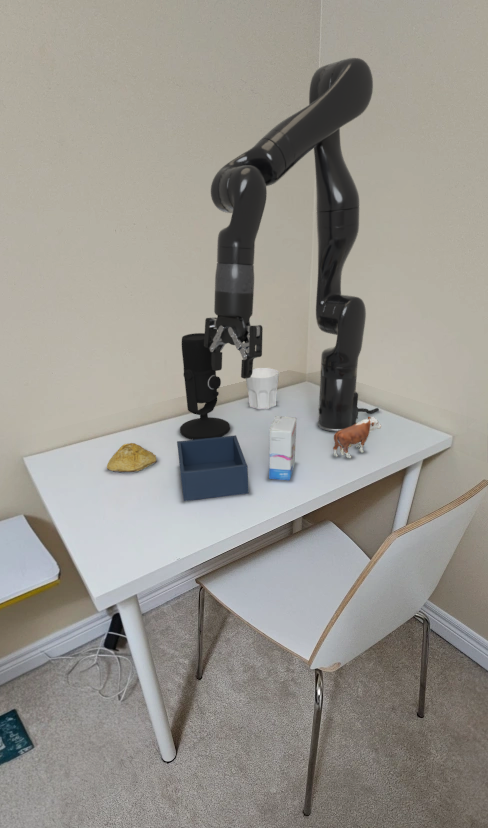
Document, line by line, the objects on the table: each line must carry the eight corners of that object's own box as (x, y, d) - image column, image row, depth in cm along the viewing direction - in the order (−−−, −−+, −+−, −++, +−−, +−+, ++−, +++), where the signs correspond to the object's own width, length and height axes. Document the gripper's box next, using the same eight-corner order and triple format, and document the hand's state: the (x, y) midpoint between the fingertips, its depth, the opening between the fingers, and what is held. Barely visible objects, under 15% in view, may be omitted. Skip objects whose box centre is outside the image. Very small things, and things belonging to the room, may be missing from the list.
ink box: (291, 481, 104) (291, 431, 98) (268, 479, 105) (267, 430, 99) (295, 463, 111) (296, 415, 105) (274, 462, 112) (274, 414, 106)
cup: (285, 403, 145) (285, 371, 140) (263, 413, 139) (262, 380, 134) (261, 396, 151) (260, 365, 146) (239, 405, 145) (237, 373, 140)
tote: (237, 460, 113) (236, 435, 110) (248, 493, 100) (247, 465, 97) (180, 466, 112) (176, 441, 108) (183, 501, 98) (180, 473, 95)
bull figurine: (381, 448, 116) (385, 417, 112) (338, 463, 110) (340, 430, 106) (369, 442, 119) (372, 412, 115) (326, 456, 114) (328, 424, 110)
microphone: (210, 444, 122) (202, 345, 109) (169, 434, 128) (157, 339, 116) (239, 425, 132) (234, 333, 119) (200, 417, 138) (192, 328, 125)
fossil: (122, 452, 105) (100, 440, 111) (121, 478, 107) (99, 465, 113) (164, 448, 113) (141, 437, 119) (162, 472, 115) (139, 460, 121)
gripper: (275, 293, 90) (268, 378, 97) (222, 286, 99) (220, 365, 106) (247, 293, 85) (243, 383, 92) (195, 286, 93) (194, 369, 100)
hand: (230, 374), depth 99 cm, fingers open, 8 cm apart
